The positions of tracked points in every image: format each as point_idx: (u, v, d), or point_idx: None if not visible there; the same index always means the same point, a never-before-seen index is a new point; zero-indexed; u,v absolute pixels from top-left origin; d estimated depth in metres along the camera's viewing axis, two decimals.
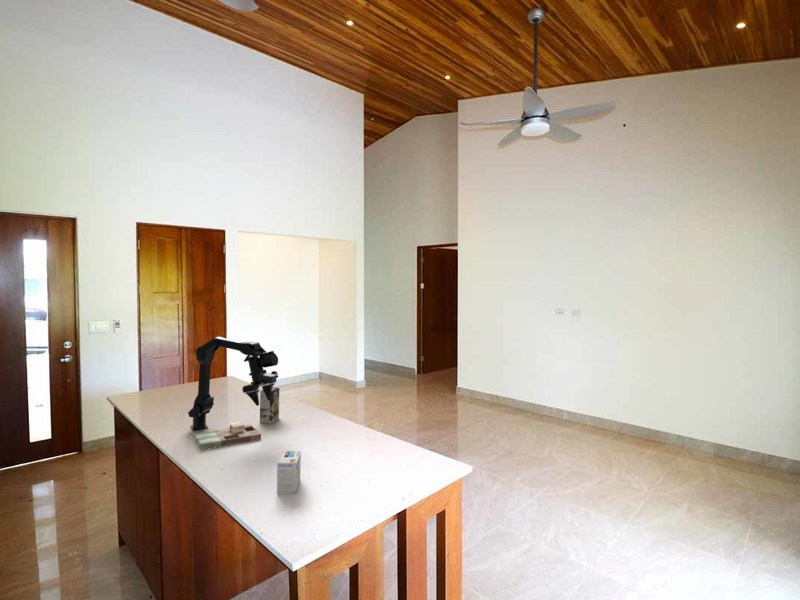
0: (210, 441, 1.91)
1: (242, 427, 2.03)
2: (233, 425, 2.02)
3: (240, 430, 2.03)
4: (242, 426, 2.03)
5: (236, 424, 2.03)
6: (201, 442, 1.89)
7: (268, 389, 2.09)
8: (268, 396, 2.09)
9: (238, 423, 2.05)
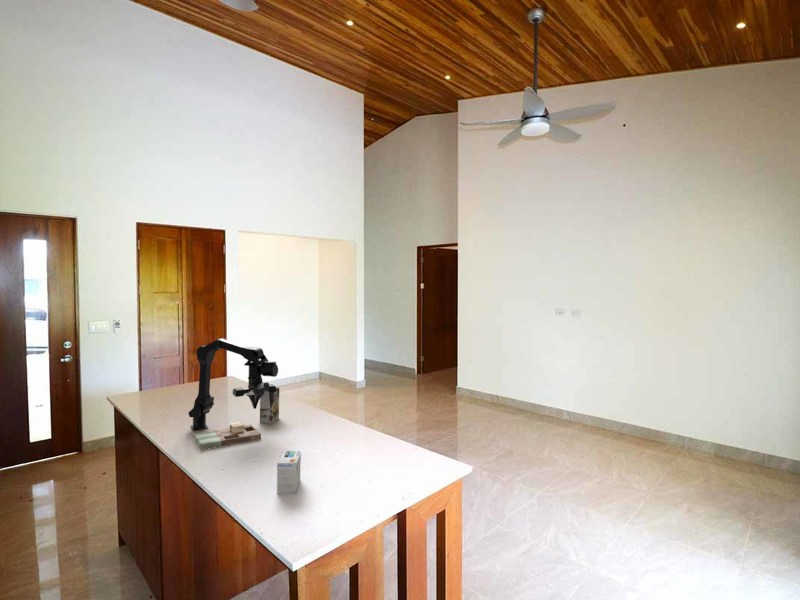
0: (210, 441, 1.91)
1: (242, 427, 2.03)
2: (233, 425, 2.02)
3: (240, 430, 2.03)
4: (242, 426, 2.03)
5: (236, 424, 2.03)
6: (201, 442, 1.89)
7: (256, 398, 2.08)
8: None
9: (238, 423, 2.05)
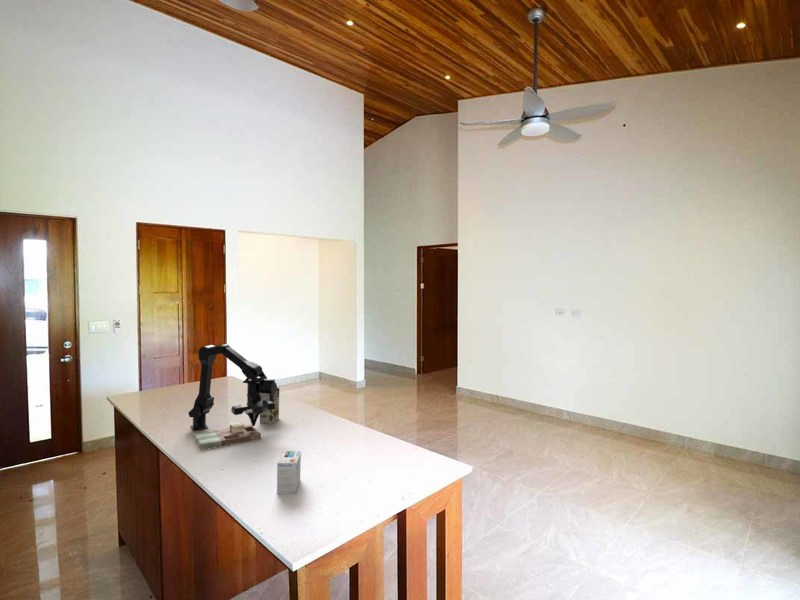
0: (210, 441, 1.91)
1: (242, 427, 2.03)
2: (233, 425, 2.02)
3: (240, 430, 2.03)
4: (242, 426, 2.03)
5: (236, 424, 2.03)
6: (201, 442, 1.89)
7: (254, 415, 2.08)
8: None
9: (238, 423, 2.05)
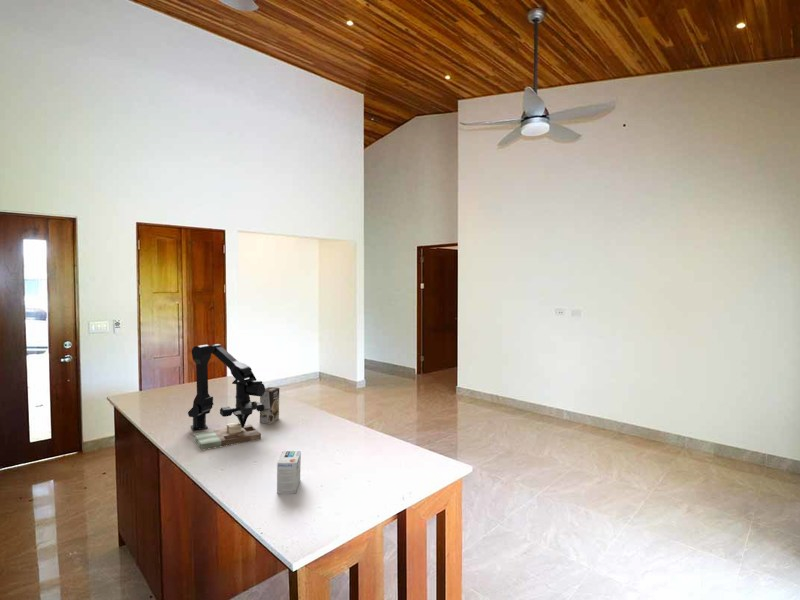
0: (210, 441, 1.91)
1: (239, 427, 2.02)
2: (230, 425, 2.01)
3: (237, 430, 2.02)
4: (239, 426, 2.02)
5: (233, 425, 2.03)
6: (201, 442, 1.89)
7: (243, 417, 2.05)
8: None
9: (235, 423, 2.04)
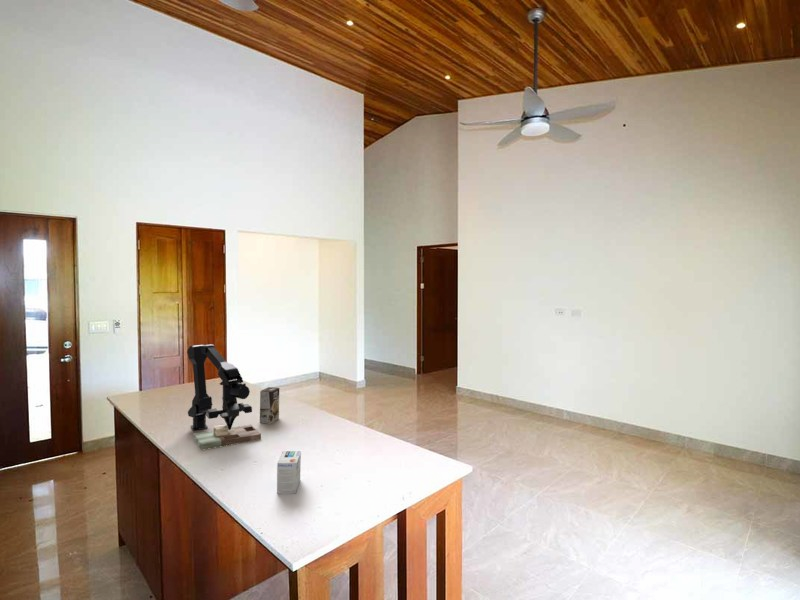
0: (210, 441, 1.91)
1: (226, 430, 1.99)
2: (217, 428, 1.98)
3: (224, 433, 1.98)
4: (226, 429, 1.99)
5: (220, 427, 1.99)
6: (201, 442, 1.89)
7: (230, 419, 2.02)
8: None
9: (222, 426, 2.01)
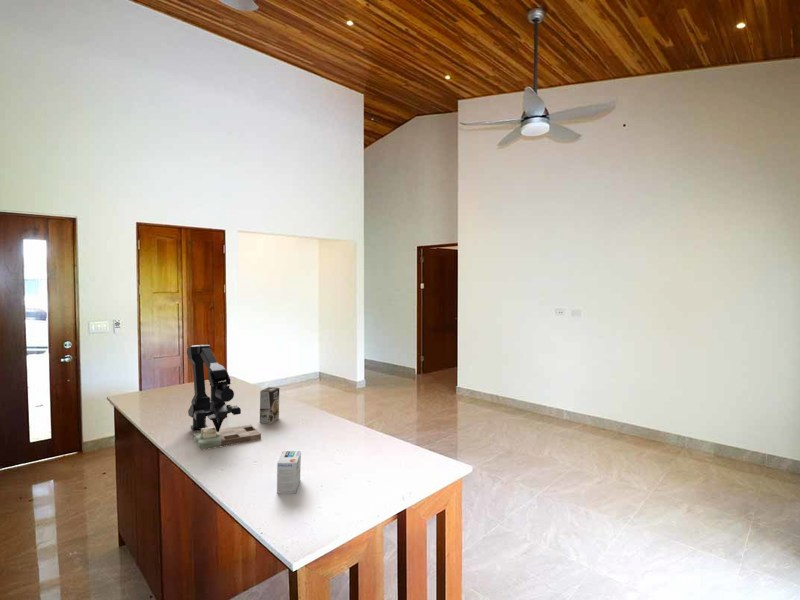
0: (210, 441, 1.91)
1: (214, 432, 1.96)
2: (204, 430, 1.95)
3: (212, 435, 1.95)
4: (214, 431, 1.96)
5: (208, 429, 1.96)
6: (201, 442, 1.89)
7: (218, 420, 1.99)
8: None
9: (210, 428, 1.98)
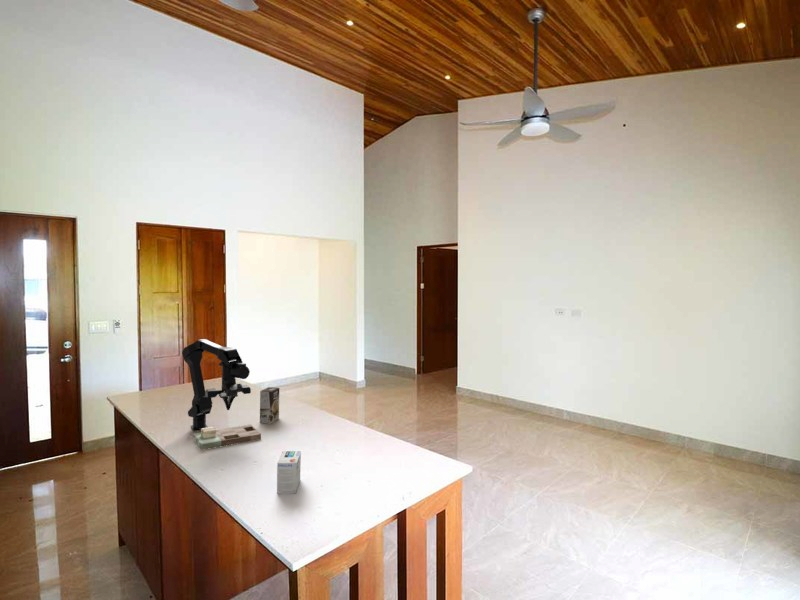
0: (210, 441, 1.91)
1: (214, 432, 1.96)
2: (204, 430, 1.95)
3: (212, 435, 1.95)
4: (214, 431, 1.96)
5: (208, 429, 1.96)
6: (201, 442, 1.89)
7: (229, 399, 2.04)
8: (228, 406, 2.04)
9: (210, 428, 1.98)
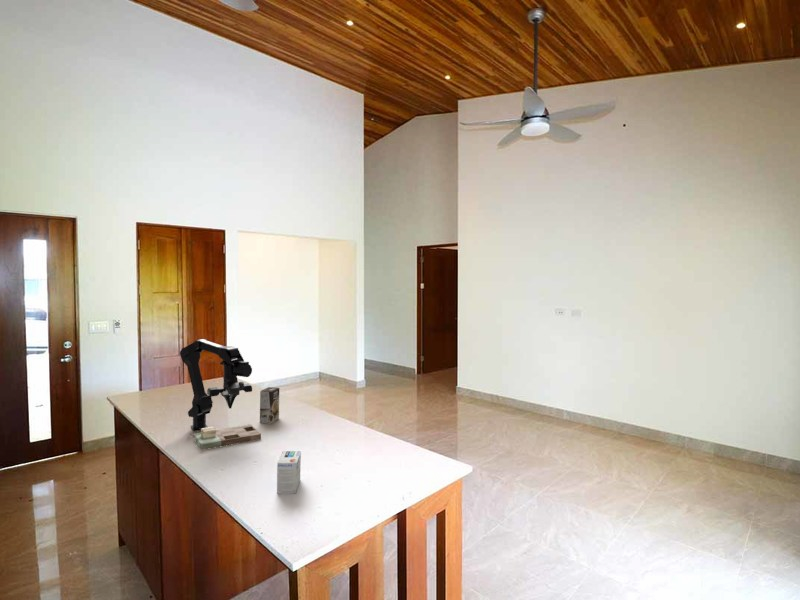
0: (210, 441, 1.91)
1: (214, 432, 1.96)
2: (204, 430, 1.95)
3: (212, 435, 1.95)
4: (214, 431, 1.96)
5: (208, 429, 1.96)
6: (201, 442, 1.89)
7: (231, 397, 2.06)
8: None
9: (210, 428, 1.98)
